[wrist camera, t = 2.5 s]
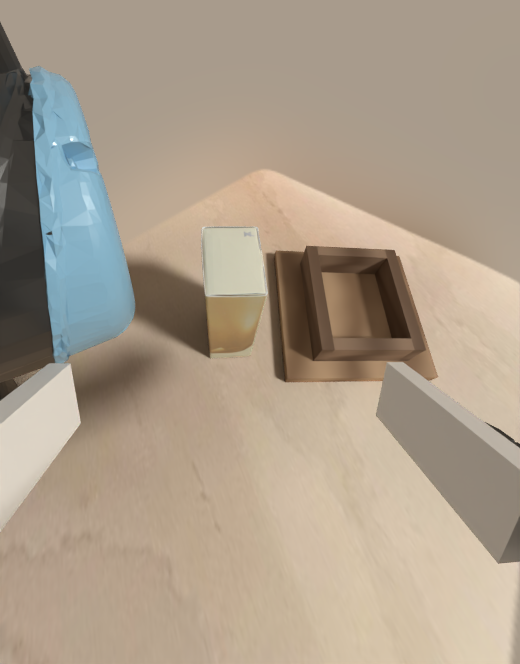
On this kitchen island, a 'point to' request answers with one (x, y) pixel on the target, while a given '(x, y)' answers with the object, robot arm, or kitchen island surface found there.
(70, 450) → the kitchen island surface
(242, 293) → the skincare box
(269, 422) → the kitchen island surface
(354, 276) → the walnut box stand
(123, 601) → the kitchen island surface
